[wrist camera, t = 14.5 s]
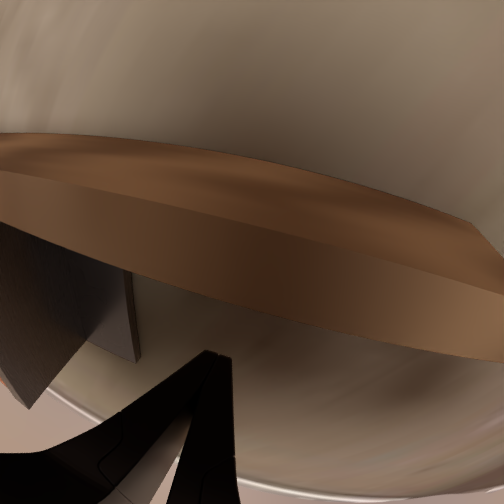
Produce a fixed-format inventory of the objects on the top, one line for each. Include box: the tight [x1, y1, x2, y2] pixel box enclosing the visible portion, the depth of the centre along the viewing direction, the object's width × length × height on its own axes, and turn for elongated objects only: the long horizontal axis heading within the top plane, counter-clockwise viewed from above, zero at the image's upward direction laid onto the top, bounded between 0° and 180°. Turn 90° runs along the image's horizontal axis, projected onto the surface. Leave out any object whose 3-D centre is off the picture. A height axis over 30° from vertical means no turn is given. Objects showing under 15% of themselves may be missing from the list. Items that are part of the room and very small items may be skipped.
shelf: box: [0, 133, 504, 363], centre depth 9 cm, size 23×11×6 cm, turn 80°
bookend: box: [0, 221, 141, 409], centre depth 9 cm, size 4×8×6 cm, turn 170°
